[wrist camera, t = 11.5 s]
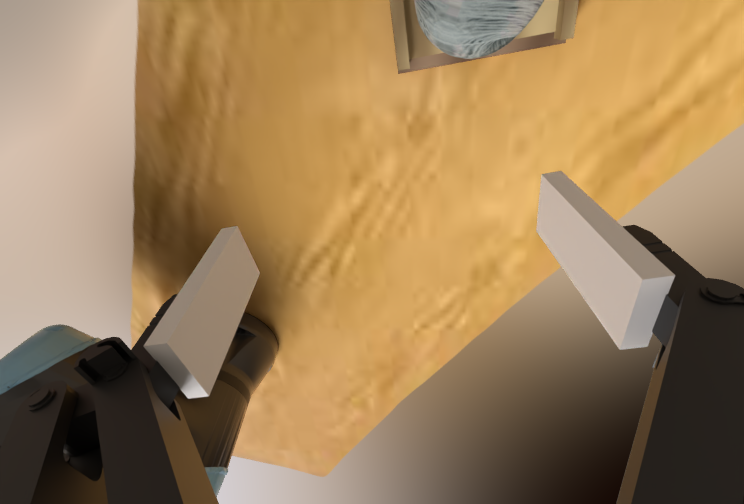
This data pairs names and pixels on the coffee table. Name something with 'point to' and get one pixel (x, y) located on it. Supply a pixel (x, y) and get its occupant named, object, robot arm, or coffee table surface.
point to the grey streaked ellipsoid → (473, 24)
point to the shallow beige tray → (420, 53)
